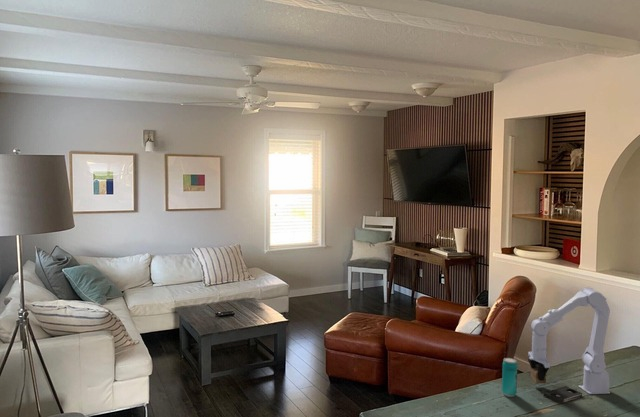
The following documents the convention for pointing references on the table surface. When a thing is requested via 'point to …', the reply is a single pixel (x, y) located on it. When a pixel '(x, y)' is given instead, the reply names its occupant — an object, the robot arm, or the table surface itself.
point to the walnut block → (536, 376)
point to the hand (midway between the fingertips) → (538, 377)
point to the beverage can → (509, 377)
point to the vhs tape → (562, 394)
